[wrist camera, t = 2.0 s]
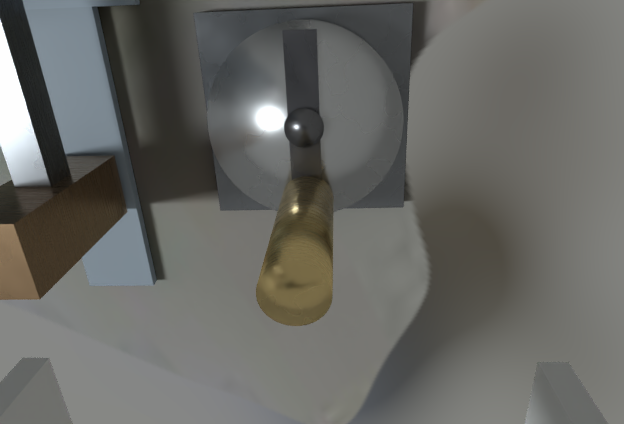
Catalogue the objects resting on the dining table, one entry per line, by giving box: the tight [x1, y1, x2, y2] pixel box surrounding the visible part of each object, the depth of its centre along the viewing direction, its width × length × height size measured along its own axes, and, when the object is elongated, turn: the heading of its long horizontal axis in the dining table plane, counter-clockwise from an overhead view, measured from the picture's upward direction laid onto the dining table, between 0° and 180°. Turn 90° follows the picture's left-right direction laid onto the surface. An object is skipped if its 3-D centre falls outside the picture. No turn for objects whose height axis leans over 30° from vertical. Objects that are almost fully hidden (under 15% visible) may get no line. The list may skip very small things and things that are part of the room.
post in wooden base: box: [0, 0, 128, 300], centre depth 20 cm, size 18×4×9 cm, turn 2°
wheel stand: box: [194, 3, 413, 210], centre depth 25 cm, size 11×11×1 cm
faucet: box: [207, 19, 404, 326], centre depth 20 cm, size 10×10×11 cm
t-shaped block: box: [23, 0, 157, 286], centre depth 22 cm, size 22×9×9 cm, turn 2°
